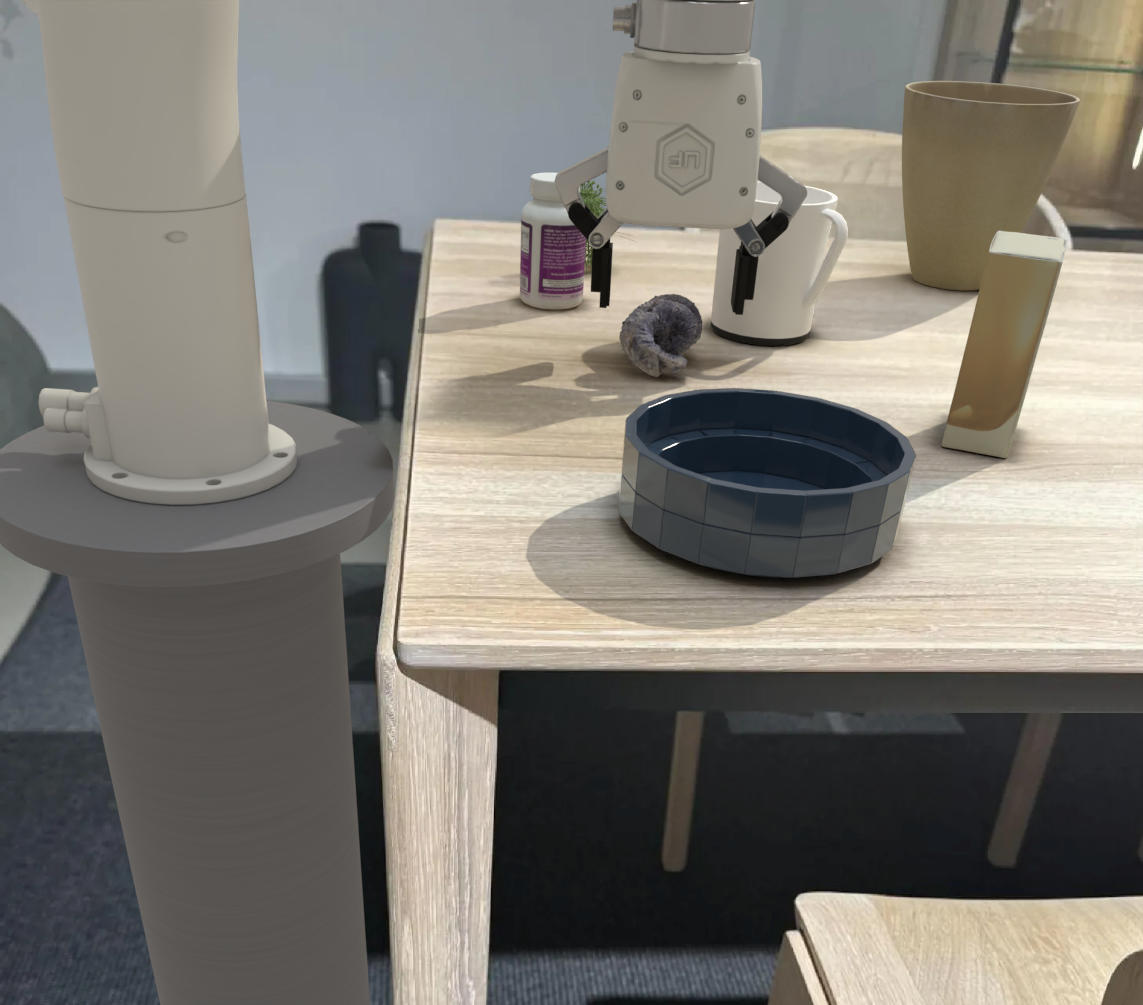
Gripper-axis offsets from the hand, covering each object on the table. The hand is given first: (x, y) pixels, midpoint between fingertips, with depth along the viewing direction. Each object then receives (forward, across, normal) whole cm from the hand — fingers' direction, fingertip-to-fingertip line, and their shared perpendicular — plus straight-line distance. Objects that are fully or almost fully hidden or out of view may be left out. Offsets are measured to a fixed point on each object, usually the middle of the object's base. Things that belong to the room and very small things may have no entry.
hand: (670, 306), depth 86 cm
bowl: (+4, +4, -28) cm, 29 cm away
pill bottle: (+4, -10, +14) cm, 17 cm away
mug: (+4, +8, +9) cm, 13 cm away
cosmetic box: (+4, +20, -12) cm, 24 cm away
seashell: (+4, 0, 0) cm, 4 cm away
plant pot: (+5, +28, +31) cm, 41 cm away
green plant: (+4, -8, +26) cm, 27 cm away
